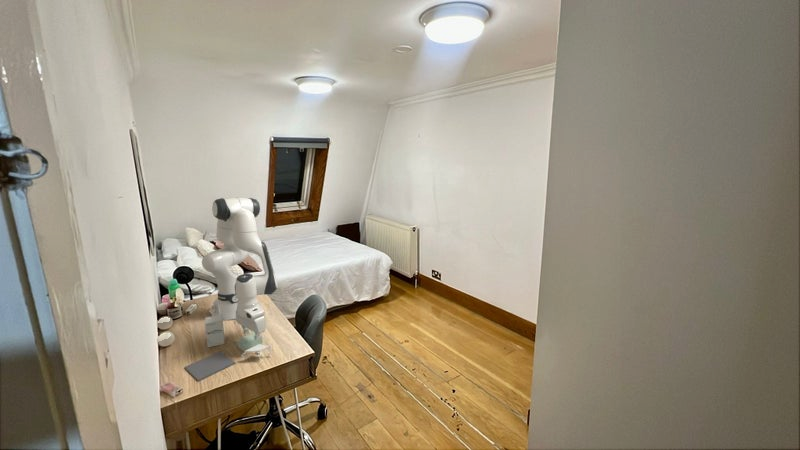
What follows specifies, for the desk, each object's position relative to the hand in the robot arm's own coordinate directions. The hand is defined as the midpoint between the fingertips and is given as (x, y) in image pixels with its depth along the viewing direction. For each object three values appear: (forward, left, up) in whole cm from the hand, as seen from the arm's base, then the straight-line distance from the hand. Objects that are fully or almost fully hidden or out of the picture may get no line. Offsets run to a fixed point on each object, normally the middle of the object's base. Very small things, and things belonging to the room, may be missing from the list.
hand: (251, 336), depth 160 cm
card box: (-1, -1, -5) cm, 5 cm away
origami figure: (+11, -4, -5) cm, 13 cm away
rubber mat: (+1, -20, -5) cm, 20 cm away
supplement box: (-16, -10, -5) cm, 19 cm away
